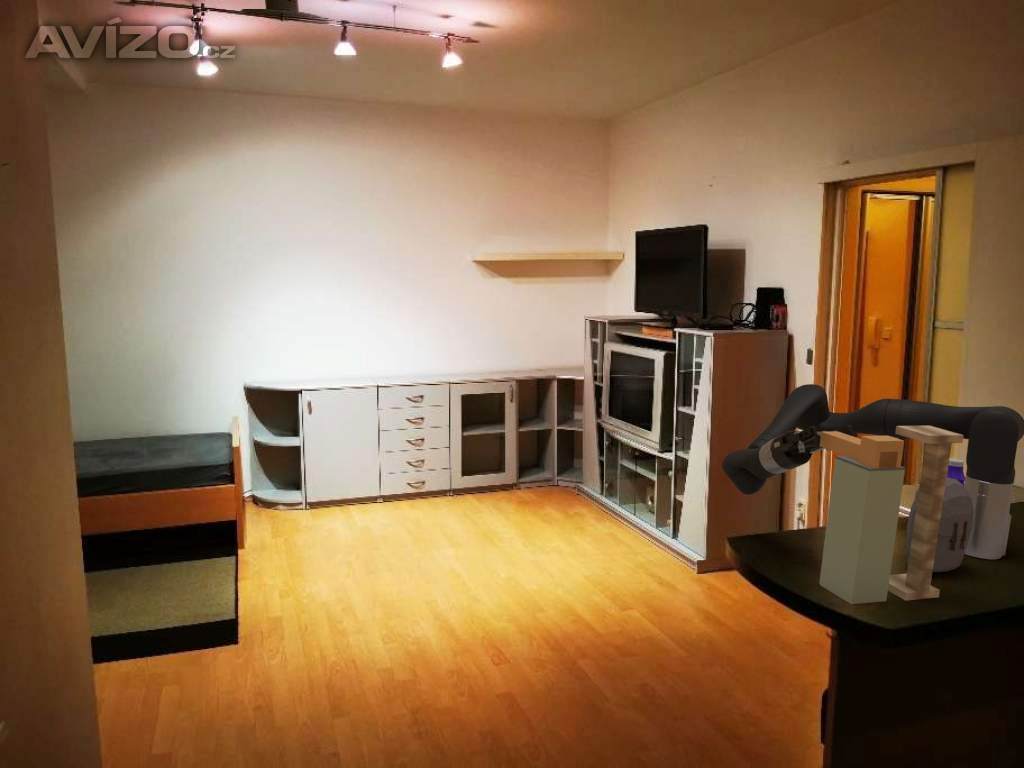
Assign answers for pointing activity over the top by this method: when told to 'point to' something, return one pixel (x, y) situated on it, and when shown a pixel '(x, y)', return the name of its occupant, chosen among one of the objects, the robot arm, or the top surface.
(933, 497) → the tan table
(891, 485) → the tall grey-green pillar
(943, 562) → the soft grey pack
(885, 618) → the top surface
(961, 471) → the bottle
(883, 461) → the orange wooden block
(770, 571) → the top surface
